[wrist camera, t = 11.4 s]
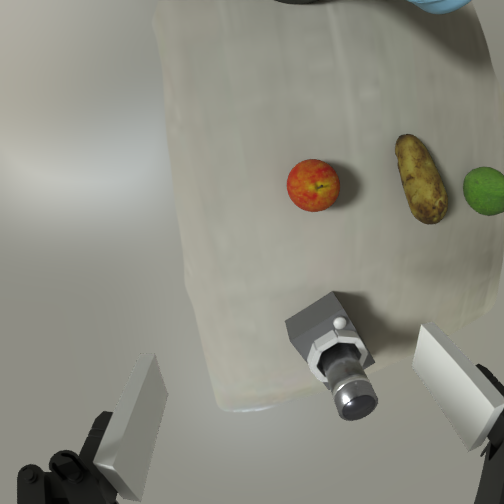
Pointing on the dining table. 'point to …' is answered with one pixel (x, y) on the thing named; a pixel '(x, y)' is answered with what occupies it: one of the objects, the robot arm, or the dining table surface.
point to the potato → (420, 180)
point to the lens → (348, 382)
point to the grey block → (324, 334)
